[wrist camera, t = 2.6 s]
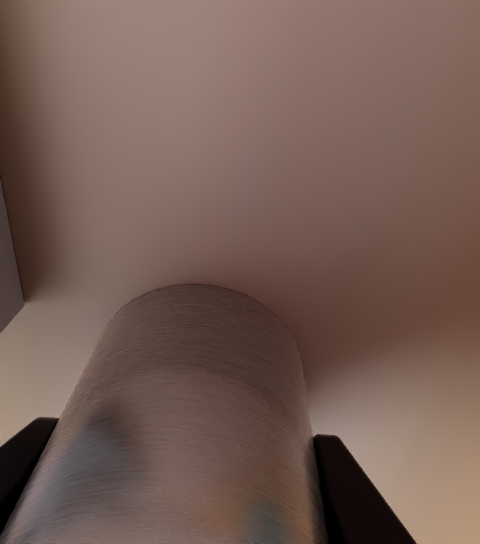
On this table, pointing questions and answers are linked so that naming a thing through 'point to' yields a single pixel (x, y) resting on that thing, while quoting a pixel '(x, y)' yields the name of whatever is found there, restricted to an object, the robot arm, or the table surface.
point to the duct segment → (181, 433)
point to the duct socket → (8, 272)
